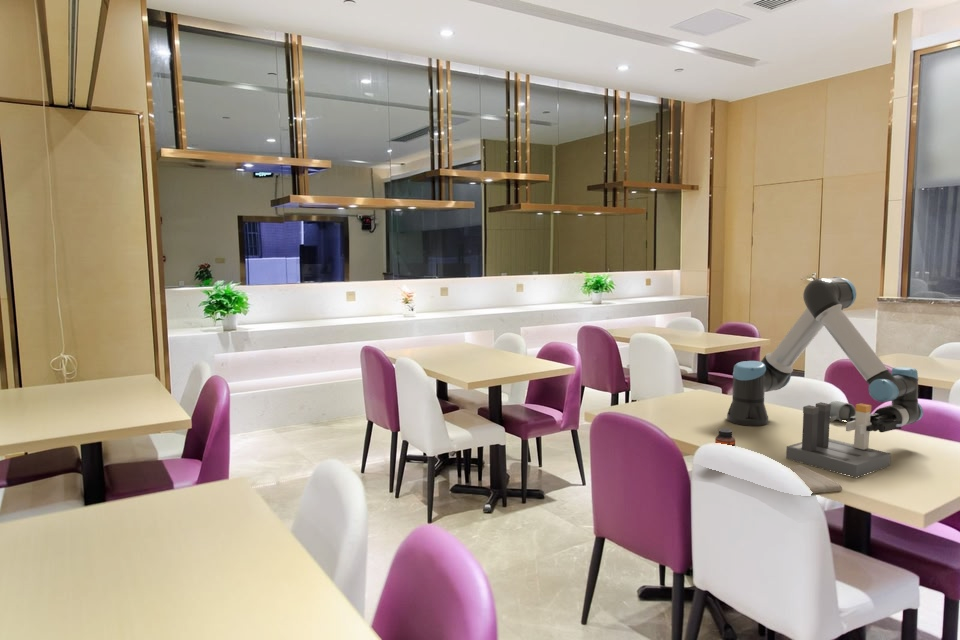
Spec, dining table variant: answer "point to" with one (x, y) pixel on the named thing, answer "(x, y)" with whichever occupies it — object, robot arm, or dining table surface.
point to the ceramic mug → (841, 411)
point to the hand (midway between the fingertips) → (853, 428)
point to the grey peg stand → (832, 447)
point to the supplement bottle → (725, 437)
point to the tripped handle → (861, 418)
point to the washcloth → (815, 480)
